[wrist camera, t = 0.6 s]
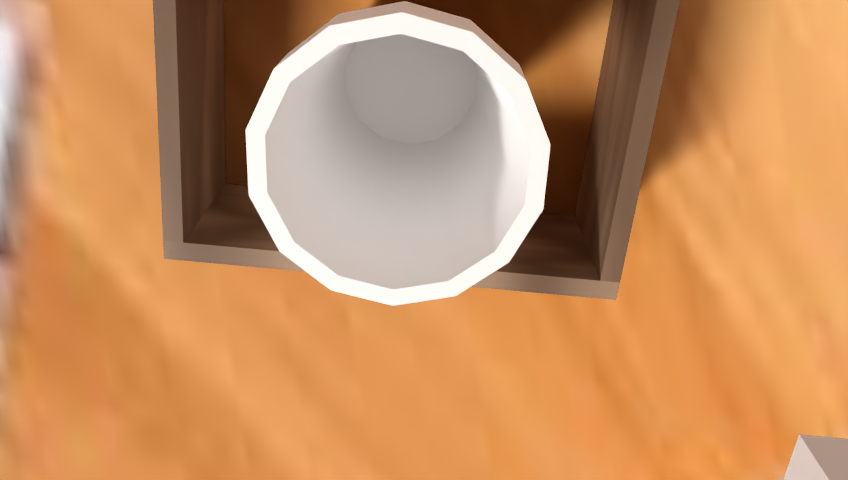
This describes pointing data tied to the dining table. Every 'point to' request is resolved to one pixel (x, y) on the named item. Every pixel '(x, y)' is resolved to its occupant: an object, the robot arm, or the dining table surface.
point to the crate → (543, 245)
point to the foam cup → (397, 154)
